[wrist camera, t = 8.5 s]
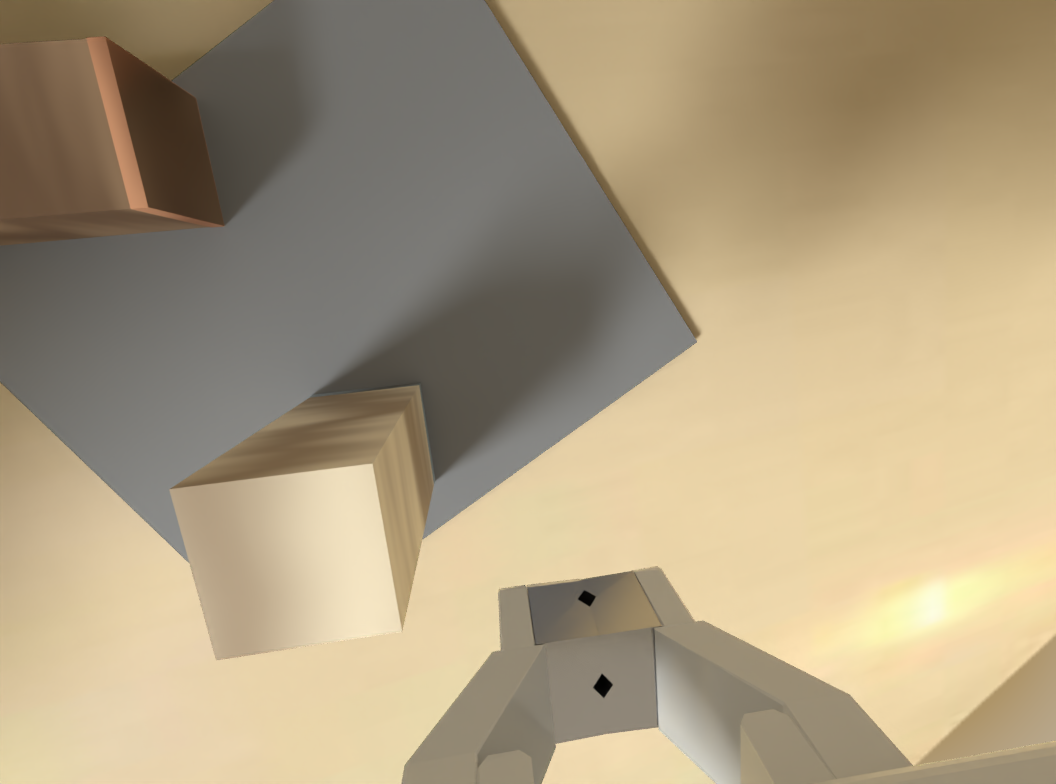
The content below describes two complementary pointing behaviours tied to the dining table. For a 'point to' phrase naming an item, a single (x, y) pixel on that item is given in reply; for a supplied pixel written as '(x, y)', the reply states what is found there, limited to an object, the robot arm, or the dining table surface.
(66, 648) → the dining table surface
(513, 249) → the rubber mat
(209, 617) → the maple block
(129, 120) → the walnut block
